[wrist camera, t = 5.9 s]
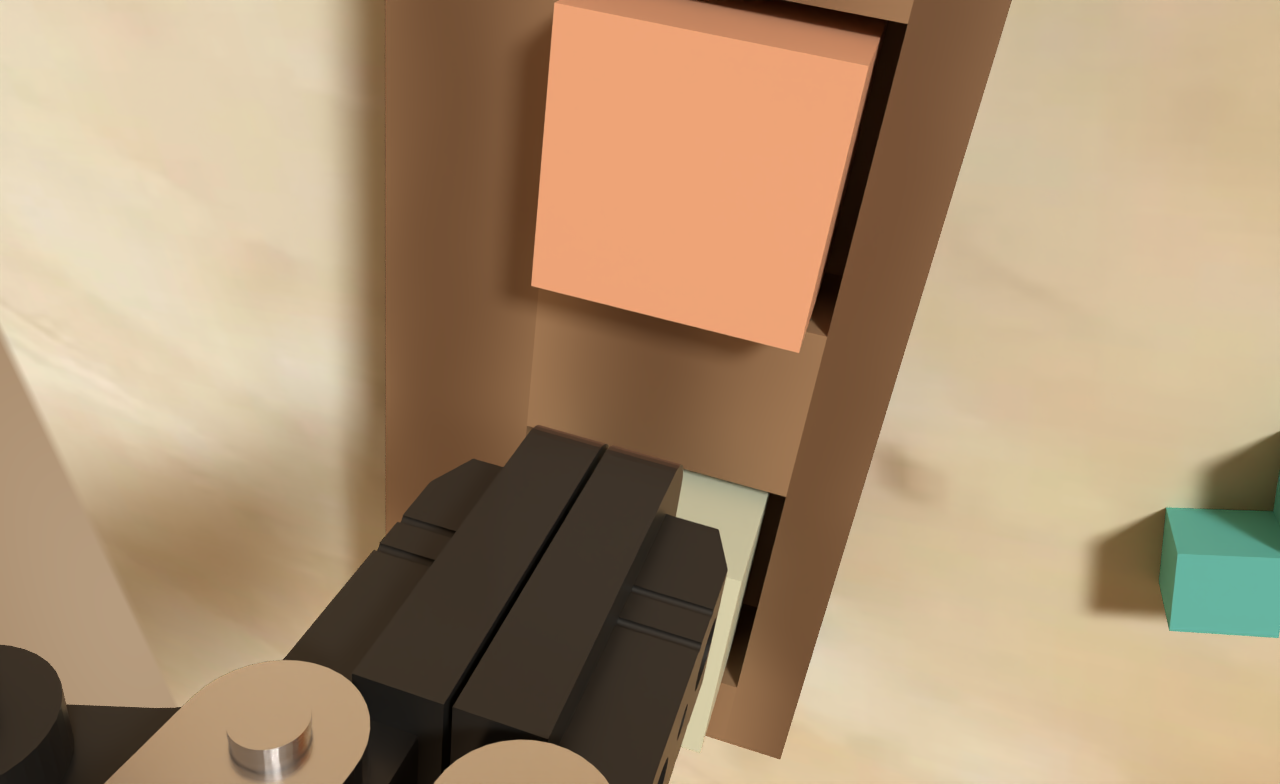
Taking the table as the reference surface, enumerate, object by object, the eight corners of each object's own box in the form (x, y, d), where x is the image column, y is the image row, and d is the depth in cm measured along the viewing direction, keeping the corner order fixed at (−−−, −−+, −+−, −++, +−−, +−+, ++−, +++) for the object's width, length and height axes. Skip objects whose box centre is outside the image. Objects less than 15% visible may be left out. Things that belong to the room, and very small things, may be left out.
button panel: (1272, -925, 14) (1369, -1163, 11) (803, 651, 30) (778, 768, 26) (509, -956, 16) (372, -1169, 12) (448, 544, 32) (380, 641, 28)
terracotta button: (888, 17, 20) (868, 65, 16) (826, 268, 22) (799, 352, 19) (624, -34, 20) (554, 2, 17) (596, 213, 23) (531, 285, 20)
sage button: (775, 471, 24) (741, 581, 21) (735, 633, 27) (700, 753, 24) (562, 413, 25) (497, 510, 22) (545, 576, 28) (485, 684, 24)
